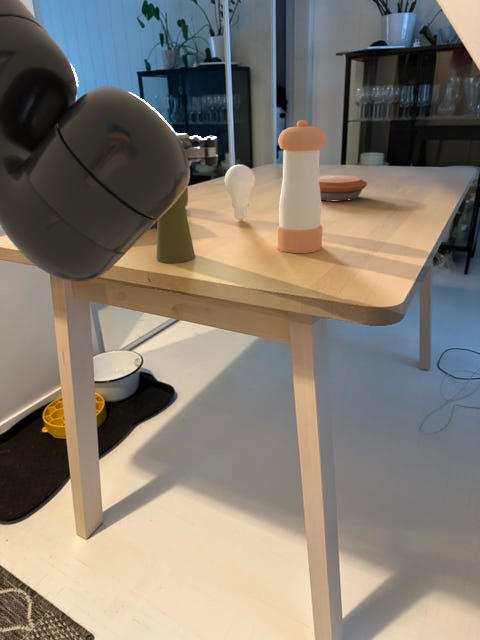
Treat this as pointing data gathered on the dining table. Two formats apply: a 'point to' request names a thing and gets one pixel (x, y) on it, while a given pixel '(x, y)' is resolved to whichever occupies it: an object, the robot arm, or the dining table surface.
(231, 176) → the lightbulb
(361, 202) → the dining table surface
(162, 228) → the cork
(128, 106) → the robot arm
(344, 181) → the pie
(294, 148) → the salt shaker
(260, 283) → the dining table surface
